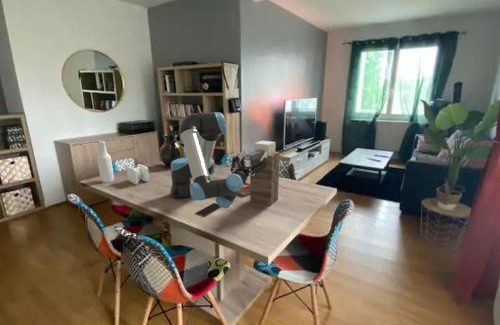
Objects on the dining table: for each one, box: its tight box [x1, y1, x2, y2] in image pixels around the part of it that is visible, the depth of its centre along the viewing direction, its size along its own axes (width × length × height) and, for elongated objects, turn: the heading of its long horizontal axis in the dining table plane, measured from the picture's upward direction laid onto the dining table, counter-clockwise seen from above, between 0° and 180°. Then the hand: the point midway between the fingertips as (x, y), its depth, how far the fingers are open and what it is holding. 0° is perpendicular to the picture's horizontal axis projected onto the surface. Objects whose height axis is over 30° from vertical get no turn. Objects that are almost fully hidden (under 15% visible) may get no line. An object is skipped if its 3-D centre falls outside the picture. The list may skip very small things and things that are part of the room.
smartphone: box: [194, 202, 222, 218], centre depth 149 cm, size 8×17×1 cm, turn 147°
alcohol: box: [96, 140, 115, 184], centre depth 192 cm, size 9×9×30 cm
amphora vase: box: [158, 133, 186, 169], centre depth 230 cm, size 22×22×28 cm
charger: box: [244, 140, 276, 161], centre depth 147 cm, size 25×9×6 cm, turn 150°
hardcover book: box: [238, 181, 250, 197], centre depth 179 cm, size 12×21×4 cm, turn 40°
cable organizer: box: [126, 163, 150, 186], centre depth 194 cm, size 15×11×12 cm
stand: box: [249, 151, 280, 206], centre depth 158 cm, size 10×14×30 cm
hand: (255, 152), depth 143 cm, fingers open, 13 cm apart
